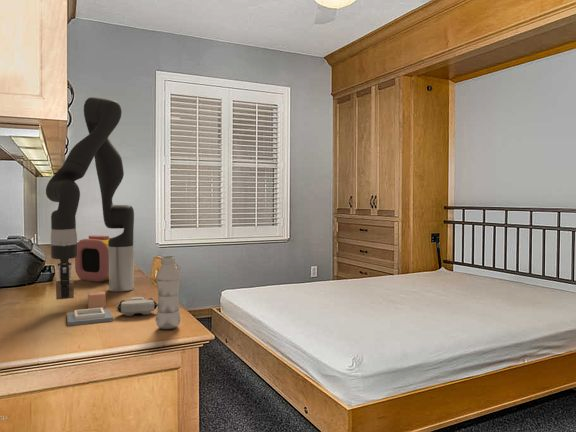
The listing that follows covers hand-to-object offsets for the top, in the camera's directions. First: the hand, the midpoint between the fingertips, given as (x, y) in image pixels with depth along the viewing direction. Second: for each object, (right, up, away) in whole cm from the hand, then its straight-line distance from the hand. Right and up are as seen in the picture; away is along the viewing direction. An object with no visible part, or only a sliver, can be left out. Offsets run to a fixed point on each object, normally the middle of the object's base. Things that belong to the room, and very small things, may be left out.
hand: (65, 295), depth 149 cm
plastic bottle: (+38, -6, -19) cm, 43 cm away
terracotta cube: (+9, -5, +4) cm, 11 cm away
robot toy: (+24, -5, -1) cm, 24 cm away
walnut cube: (0, -1, 0) cm, 1 cm away
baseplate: (+12, -5, -9) cm, 16 cm away
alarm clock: (-11, -3, +55) cm, 56 cm away
